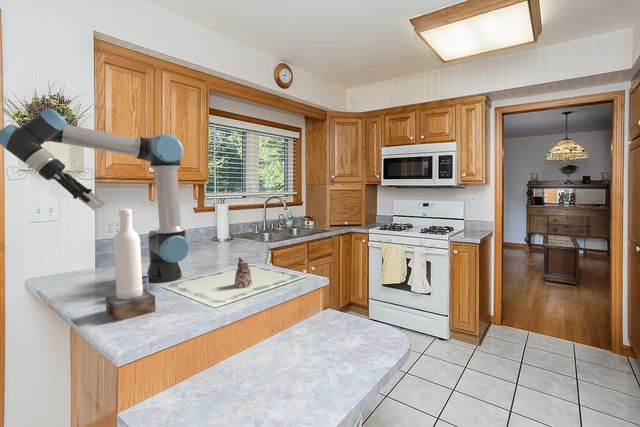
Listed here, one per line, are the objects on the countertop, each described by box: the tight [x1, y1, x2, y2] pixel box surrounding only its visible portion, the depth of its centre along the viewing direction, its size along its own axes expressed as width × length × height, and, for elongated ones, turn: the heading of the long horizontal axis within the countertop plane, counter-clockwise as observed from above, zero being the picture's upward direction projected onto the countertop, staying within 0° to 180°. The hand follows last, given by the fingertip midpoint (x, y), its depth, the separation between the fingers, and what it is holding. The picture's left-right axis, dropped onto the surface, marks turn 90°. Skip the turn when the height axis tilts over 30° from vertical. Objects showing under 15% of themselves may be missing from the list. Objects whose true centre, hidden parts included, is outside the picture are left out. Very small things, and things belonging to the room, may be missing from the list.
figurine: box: [234, 257, 253, 289], centre depth 147 cm, size 7×7×12 cm
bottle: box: [113, 208, 143, 300], centre depth 116 cm, size 8×8×30 cm
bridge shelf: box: [104, 289, 157, 322], centre depth 117 cm, size 12×12×6 cm
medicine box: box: [142, 273, 150, 293], centre depth 133 cm, size 8×4×9 cm, turn 118°
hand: (100, 206), depth 126 cm, fingers open, 13 cm apart
